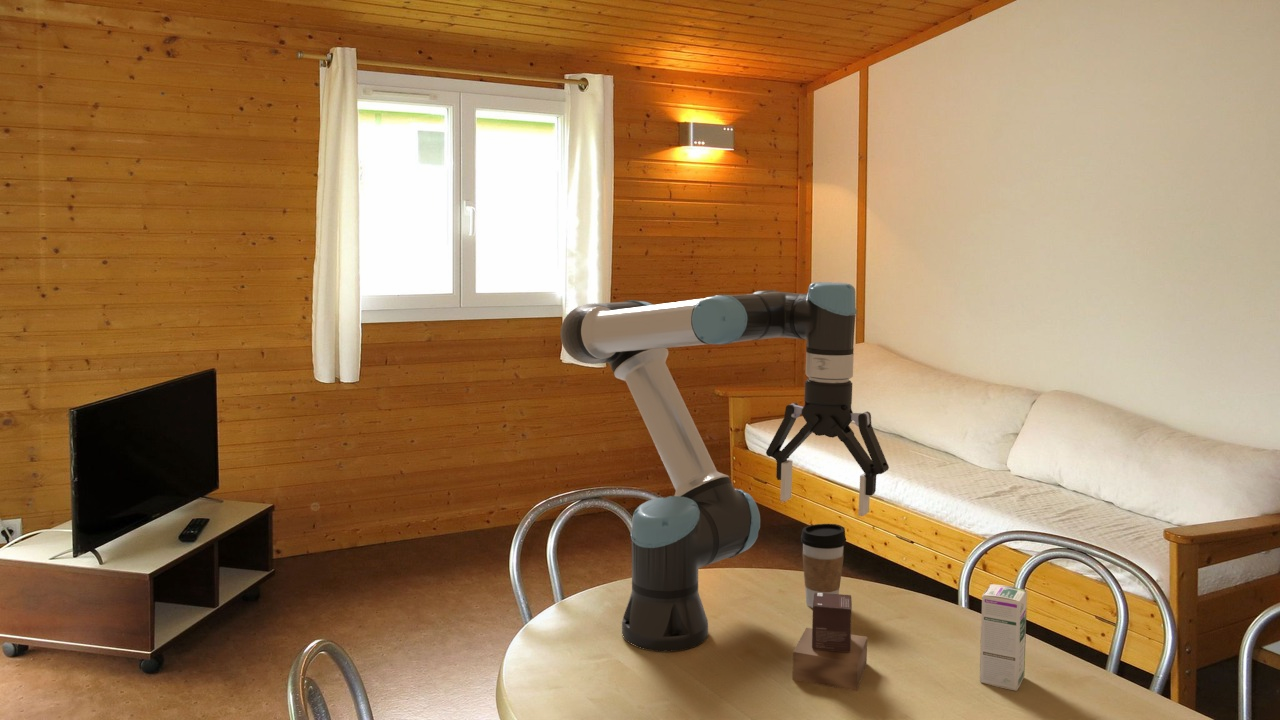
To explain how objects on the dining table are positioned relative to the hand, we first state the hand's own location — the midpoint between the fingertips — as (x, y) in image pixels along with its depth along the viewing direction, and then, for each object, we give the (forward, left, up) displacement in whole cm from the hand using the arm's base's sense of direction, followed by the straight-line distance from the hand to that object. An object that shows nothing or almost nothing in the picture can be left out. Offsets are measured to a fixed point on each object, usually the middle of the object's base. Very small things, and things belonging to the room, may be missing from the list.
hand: (823, 506), depth 152 cm
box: (+4, -5, -21) cm, 22 cm away
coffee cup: (-7, +20, -26) cm, 33 cm away
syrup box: (+28, +5, -26) cm, 38 cm away
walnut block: (+4, -6, -26) cm, 27 cm away
